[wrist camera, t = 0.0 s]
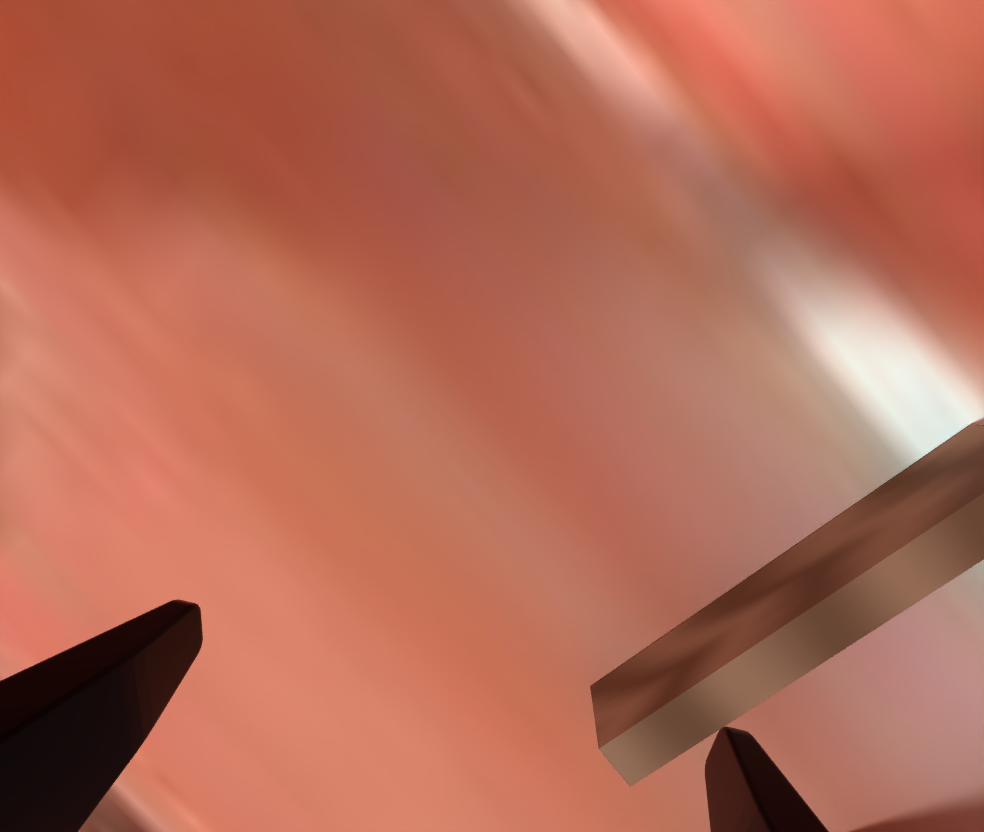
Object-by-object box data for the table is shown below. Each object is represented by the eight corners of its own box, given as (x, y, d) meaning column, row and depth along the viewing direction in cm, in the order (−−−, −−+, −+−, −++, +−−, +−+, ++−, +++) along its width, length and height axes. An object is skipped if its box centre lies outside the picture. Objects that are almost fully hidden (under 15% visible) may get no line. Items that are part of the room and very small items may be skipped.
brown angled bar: (914, 1078, 26) (982, 1210, 22) (590, 686, 25) (598, 748, 21) (1328, 874, 23) (1494, 984, 19) (971, 423, 22) (1065, 438, 18)
